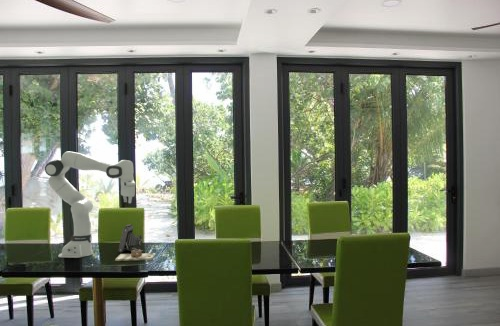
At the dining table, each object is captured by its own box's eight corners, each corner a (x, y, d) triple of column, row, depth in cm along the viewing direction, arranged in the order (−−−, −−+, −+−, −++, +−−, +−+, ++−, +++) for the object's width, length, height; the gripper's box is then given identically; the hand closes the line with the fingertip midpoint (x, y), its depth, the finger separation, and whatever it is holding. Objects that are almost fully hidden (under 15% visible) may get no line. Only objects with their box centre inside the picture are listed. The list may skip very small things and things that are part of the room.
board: (115, 260, 252) (115, 258, 252) (120, 255, 265) (120, 253, 265) (152, 259, 254) (152, 257, 254) (155, 254, 268) (155, 252, 268)
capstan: (130, 254, 262) (130, 249, 262) (141, 253, 265) (141, 248, 265) (131, 259, 250) (131, 253, 250) (142, 258, 252) (142, 252, 252)
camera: (136, 258, 272) (143, 231, 272) (116, 251, 276) (122, 225, 275) (144, 254, 283) (150, 229, 282) (124, 248, 286) (130, 222, 286)
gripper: (118, 182, 272) (118, 201, 272) (127, 183, 256) (127, 204, 256) (127, 182, 276) (127, 201, 276) (136, 183, 259) (136, 203, 259)
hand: (127, 202), depth 266 cm, fingers open, 8 cm apart
